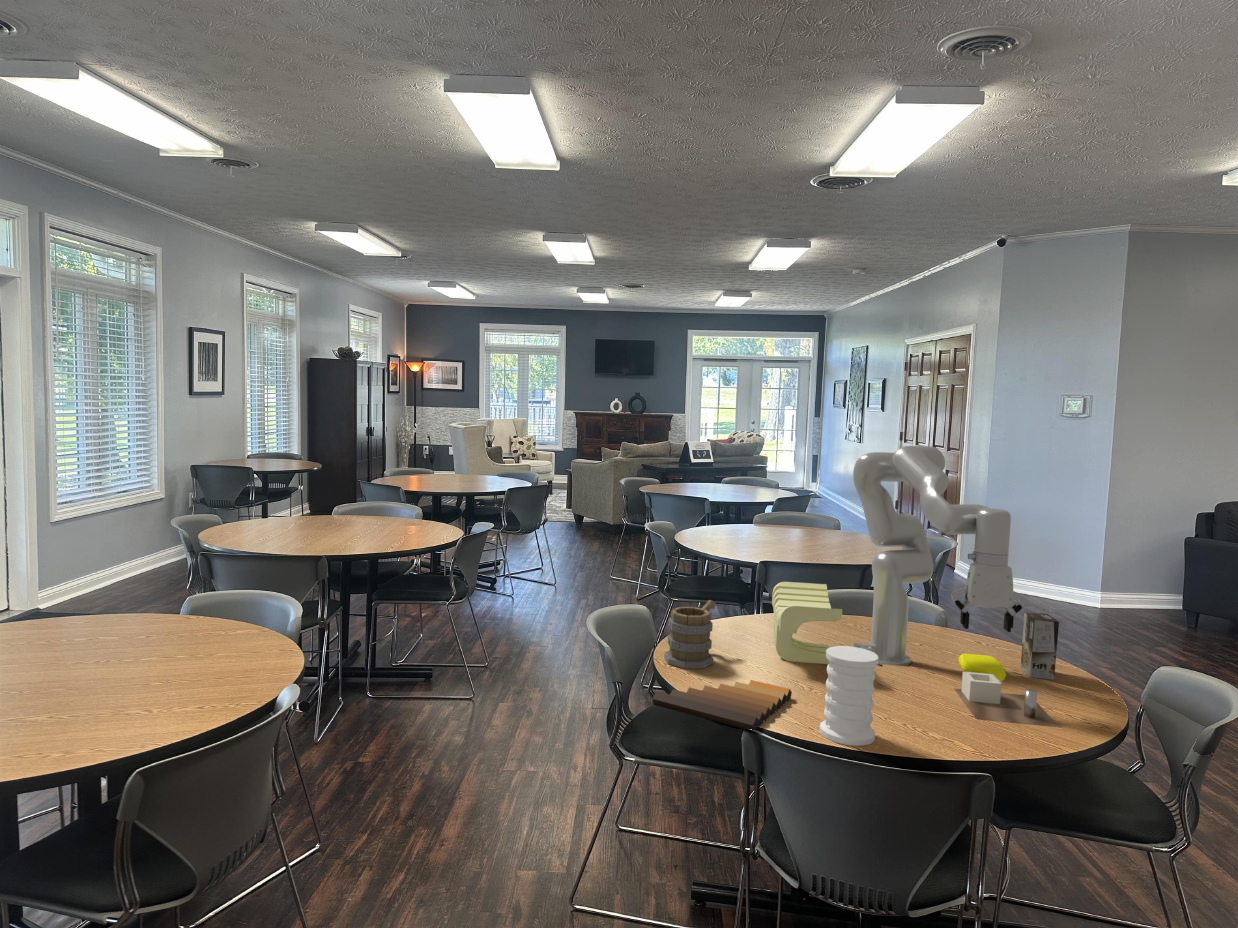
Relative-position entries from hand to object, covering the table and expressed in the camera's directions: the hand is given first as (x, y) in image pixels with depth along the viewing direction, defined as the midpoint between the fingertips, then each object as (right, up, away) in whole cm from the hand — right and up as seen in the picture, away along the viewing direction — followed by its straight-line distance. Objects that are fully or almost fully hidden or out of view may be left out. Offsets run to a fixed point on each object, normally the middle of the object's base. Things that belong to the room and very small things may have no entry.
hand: (986, 628), depth 191 cm
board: (+2, -19, -4) cm, 20 cm away
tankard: (-68, -14, +28) cm, 75 cm away
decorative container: (-40, -19, -21) cm, 49 cm away
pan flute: (-65, -17, -4) cm, 67 cm away
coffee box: (+26, -18, +26) cm, 41 cm away
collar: (-1, -17, +1) cm, 17 cm away
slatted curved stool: (-37, -15, +34) cm, 53 cm away
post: (+5, -18, -10) cm, 21 cm away
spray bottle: (+10, -18, +22) cm, 30 cm away
